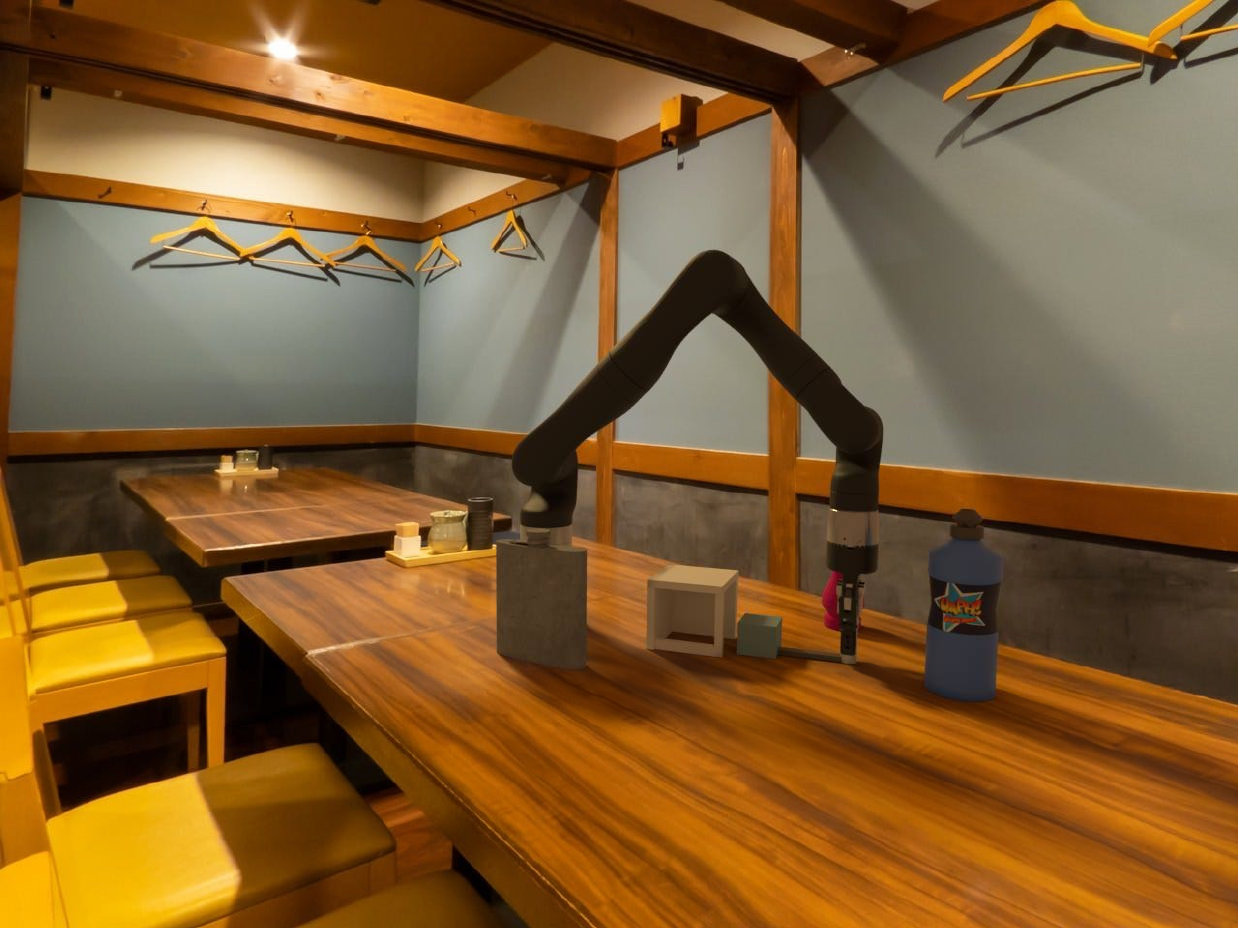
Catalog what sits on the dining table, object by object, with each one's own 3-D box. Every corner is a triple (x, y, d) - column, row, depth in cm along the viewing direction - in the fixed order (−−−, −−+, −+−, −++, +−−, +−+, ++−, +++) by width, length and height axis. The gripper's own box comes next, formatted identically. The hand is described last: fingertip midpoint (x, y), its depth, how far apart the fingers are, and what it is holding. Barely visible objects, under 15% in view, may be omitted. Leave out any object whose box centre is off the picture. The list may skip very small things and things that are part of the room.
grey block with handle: (736, 654, 119) (737, 603, 119) (744, 642, 125) (745, 594, 124) (855, 668, 113) (857, 615, 113) (857, 656, 119) (859, 605, 118)
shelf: (646, 648, 122) (647, 579, 121) (668, 628, 133) (669, 564, 132) (720, 658, 117) (722, 586, 116) (737, 636, 129) (738, 570, 128)
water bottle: (992, 707, 100) (1002, 517, 97) (916, 692, 104) (924, 510, 102) (1000, 685, 107) (1009, 508, 105) (929, 672, 112) (937, 503, 110)
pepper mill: (865, 633, 131) (870, 517, 129) (822, 630, 132) (825, 515, 131) (861, 621, 138) (865, 511, 136) (819, 618, 139) (823, 509, 138)
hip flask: (590, 664, 114) (591, 531, 113) (575, 672, 111) (576, 536, 109) (505, 646, 122) (504, 522, 120) (488, 654, 118) (488, 526, 117)
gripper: (831, 529, 123) (827, 635, 124) (822, 545, 110) (818, 662, 111) (880, 533, 120) (876, 641, 122) (877, 549, 107) (872, 669, 109)
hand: (848, 650), depth 116 cm, fingers closed on grey block with handle, 2 cm apart
